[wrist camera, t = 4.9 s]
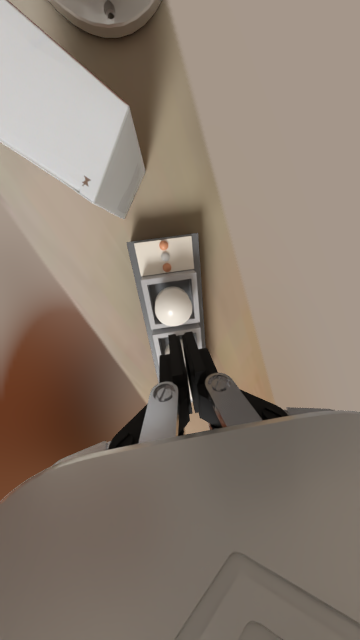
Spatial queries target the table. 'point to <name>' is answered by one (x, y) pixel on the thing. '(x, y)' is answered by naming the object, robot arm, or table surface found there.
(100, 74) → the table surface
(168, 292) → the button
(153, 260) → the button board
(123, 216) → the small box
